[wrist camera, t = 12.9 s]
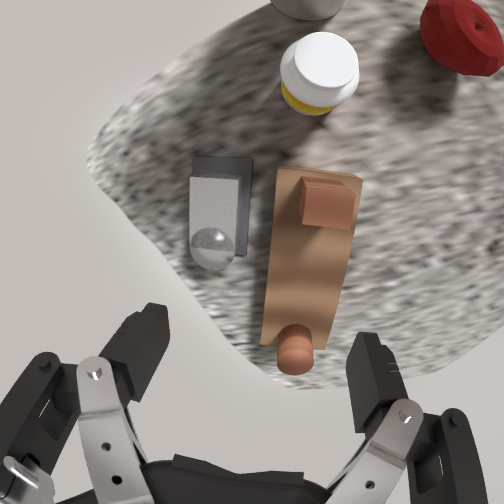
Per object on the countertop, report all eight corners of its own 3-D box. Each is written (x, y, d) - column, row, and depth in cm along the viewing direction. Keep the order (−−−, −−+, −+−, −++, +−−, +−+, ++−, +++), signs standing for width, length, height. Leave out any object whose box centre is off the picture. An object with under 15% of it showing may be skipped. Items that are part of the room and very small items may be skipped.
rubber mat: (194, 156, 31) (193, 156, 31) (252, 158, 31) (252, 159, 30) (194, 247, 36) (192, 249, 36) (246, 253, 36) (246, 255, 35)
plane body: (278, 165, 31) (275, 177, 21) (353, 174, 30) (385, 192, 20) (262, 327, 40) (254, 383, 30) (321, 333, 39) (328, 388, 29)
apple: (479, 67, 20) (531, 57, 10) (441, 96, 24) (496, 88, 13) (432, 4, 18) (472, -26, 7) (387, 27, 22) (425, -9, 11)
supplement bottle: (332, 123, 28) (361, 114, 16) (275, 108, 28) (269, 88, 16) (344, 73, 25) (377, 38, 14) (288, 57, 25) (289, 12, 14)
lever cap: (200, 172, 32) (189, 177, 28) (244, 174, 31) (238, 179, 27) (199, 253, 36) (190, 267, 32) (239, 258, 35) (233, 272, 32)
